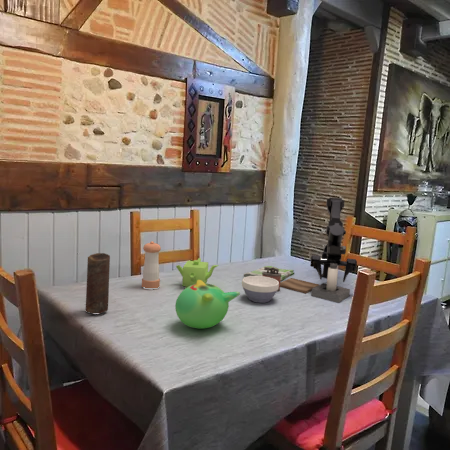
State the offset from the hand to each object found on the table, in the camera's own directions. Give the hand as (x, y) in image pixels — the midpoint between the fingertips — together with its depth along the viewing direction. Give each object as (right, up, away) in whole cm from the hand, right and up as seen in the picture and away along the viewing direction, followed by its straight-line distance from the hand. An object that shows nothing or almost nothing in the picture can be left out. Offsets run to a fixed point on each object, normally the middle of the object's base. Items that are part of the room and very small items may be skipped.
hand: (332, 280), depth 180 cm
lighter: (-25, -5, +5) cm, 26 cm away
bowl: (-31, -7, -8) cm, 32 cm away
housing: (0, -7, +2) cm, 7 cm away
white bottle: (0, -7, +2) cm, 7 cm away
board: (-12, -4, +13) cm, 18 cm away
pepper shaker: (-75, -3, -1) cm, 75 cm away
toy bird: (-52, -10, -38) cm, 65 cm away
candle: (-88, -7, -32) cm, 94 cm away
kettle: (-56, -3, +4) cm, 57 cm away
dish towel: (-23, -2, +28) cm, 37 cm away
